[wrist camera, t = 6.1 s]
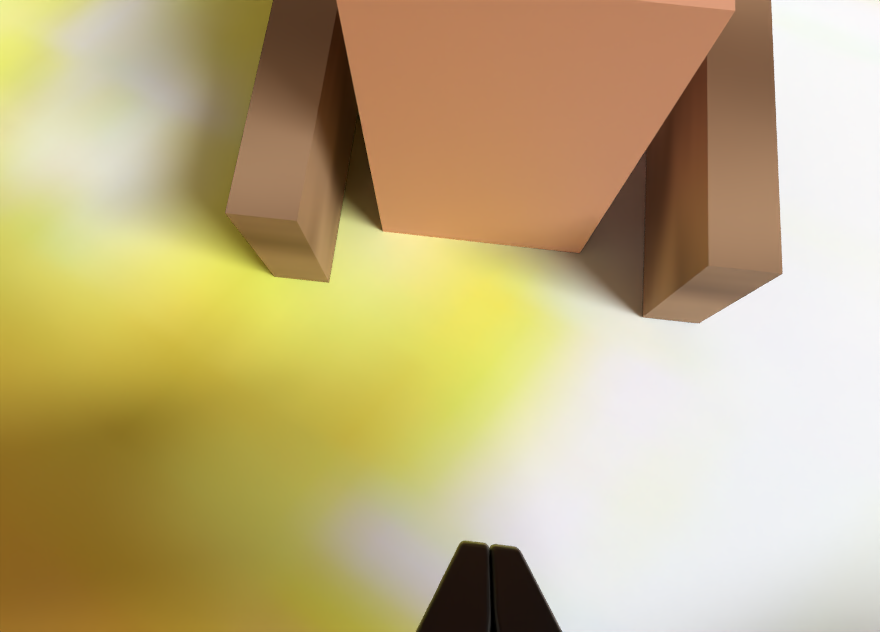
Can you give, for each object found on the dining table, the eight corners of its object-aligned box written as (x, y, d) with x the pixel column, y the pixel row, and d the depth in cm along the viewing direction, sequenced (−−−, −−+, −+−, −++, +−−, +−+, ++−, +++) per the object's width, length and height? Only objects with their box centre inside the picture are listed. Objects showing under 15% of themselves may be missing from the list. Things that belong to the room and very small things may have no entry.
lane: (698, 323, 16) (782, 273, 12) (274, 276, 16) (225, 212, 12) (697, -85, 20) (762, -223, 16) (352, -119, 20) (332, -263, 16)
